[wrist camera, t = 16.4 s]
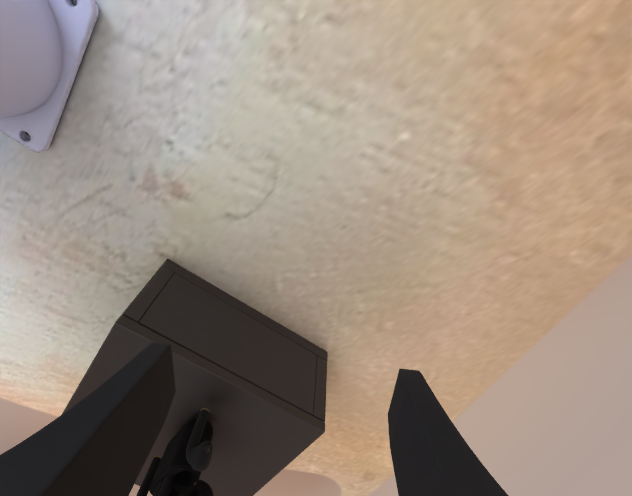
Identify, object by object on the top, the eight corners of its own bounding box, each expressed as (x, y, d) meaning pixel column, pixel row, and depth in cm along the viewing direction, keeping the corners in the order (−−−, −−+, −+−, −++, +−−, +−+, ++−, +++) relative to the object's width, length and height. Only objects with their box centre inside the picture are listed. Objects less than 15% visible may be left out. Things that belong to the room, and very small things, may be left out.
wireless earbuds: (217, 385, 19) (179, 491, 14) (258, 409, 19) (235, 518, 15) (150, 453, 21) (101, 560, 17) (189, 472, 22) (151, 580, 18)
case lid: (225, 512, 25) (223, 522, 24) (50, 435, 22) (43, 445, 22) (325, 422, 20) (325, 432, 20) (121, 314, 18) (115, 322, 17)
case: (249, 432, 29) (231, 506, 24) (105, 361, 26) (55, 428, 22) (327, 352, 25) (325, 421, 20) (167, 258, 22) (122, 313, 18)
